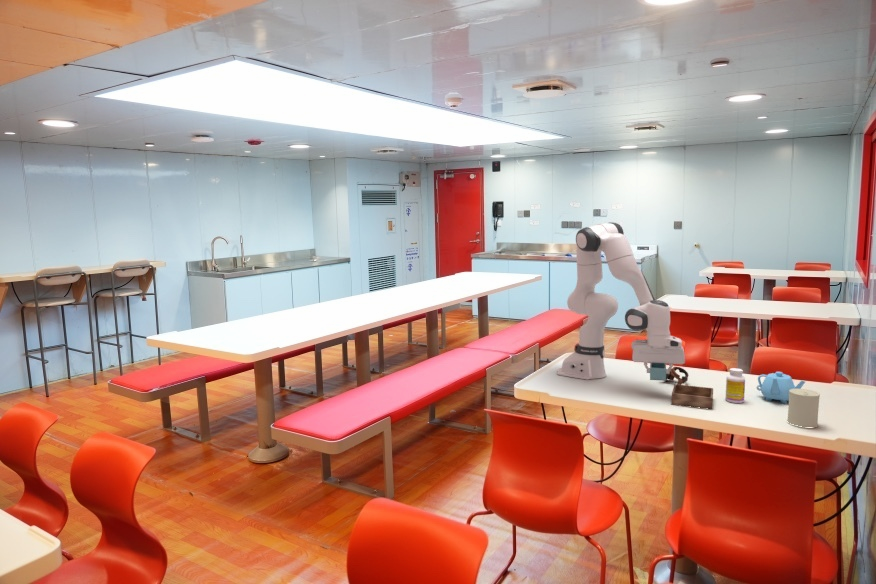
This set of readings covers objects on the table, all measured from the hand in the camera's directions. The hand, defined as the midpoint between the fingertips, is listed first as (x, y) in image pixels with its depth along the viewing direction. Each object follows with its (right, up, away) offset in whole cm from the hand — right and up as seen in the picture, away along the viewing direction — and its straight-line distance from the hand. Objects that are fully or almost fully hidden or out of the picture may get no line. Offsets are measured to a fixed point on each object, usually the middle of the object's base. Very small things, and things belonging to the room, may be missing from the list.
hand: (658, 373), depth 236 cm
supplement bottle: (+28, -10, -7) cm, 30 cm away
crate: (+11, -10, -8) cm, 17 cm away
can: (+38, -13, -34) cm, 52 cm away
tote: (0, -2, 0) cm, 2 cm away
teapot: (+46, -10, -7) cm, 47 cm away
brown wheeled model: (+14, -7, +19) cm, 25 cm away
